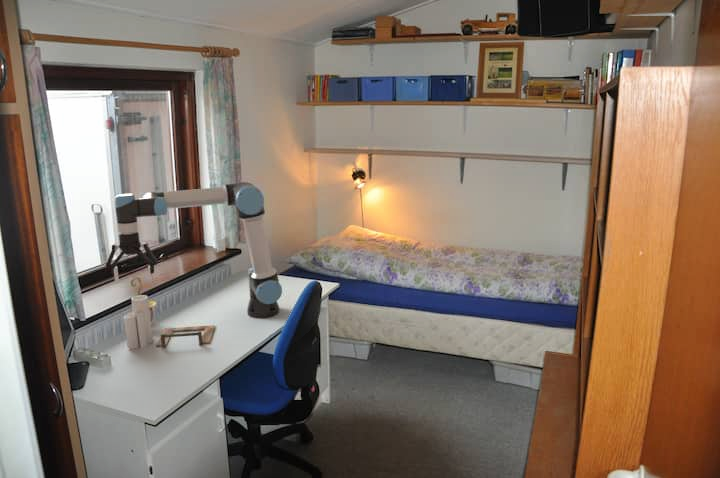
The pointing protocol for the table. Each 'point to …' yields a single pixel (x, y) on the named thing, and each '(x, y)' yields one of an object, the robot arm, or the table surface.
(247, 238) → the robot arm
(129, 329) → the candle
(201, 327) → the brown wooden stand
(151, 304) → the wall sconce
